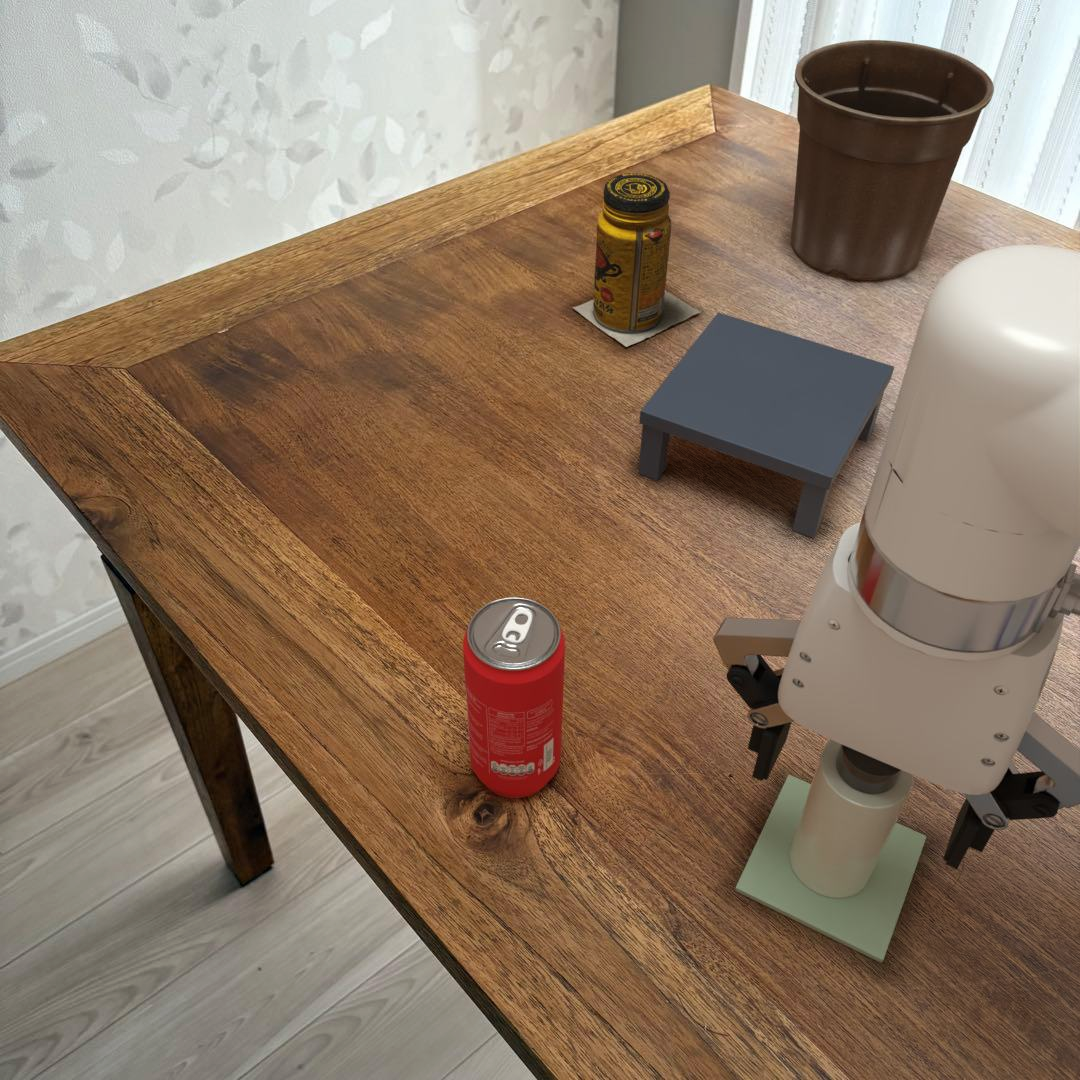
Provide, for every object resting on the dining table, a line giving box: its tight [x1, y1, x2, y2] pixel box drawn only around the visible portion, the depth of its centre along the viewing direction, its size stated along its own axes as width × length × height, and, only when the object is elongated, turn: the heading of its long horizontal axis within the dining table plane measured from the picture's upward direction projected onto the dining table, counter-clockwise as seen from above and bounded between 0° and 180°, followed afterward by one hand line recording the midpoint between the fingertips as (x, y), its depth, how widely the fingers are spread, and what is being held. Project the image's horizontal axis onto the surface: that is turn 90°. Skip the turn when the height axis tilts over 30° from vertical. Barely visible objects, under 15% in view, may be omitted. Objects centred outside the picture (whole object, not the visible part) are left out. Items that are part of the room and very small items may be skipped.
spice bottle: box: [789, 739, 914, 898], centre depth 56 cm, size 4×4×11 cm
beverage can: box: [462, 596, 566, 799], centre depth 60 cm, size 5×5×12 cm
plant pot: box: [790, 39, 995, 281], centre depth 99 cm, size 16×16×16 cm
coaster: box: [734, 774, 928, 964], centre depth 60 cm, size 8×8×1 cm
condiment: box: [572, 172, 701, 348], centre depth 92 cm, size 7×8×12 cm
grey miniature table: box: [637, 312, 895, 539], centre depth 82 cm, size 14×14×6 cm
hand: (860, 799), depth 55 cm, fingers open, 9 cm apart
